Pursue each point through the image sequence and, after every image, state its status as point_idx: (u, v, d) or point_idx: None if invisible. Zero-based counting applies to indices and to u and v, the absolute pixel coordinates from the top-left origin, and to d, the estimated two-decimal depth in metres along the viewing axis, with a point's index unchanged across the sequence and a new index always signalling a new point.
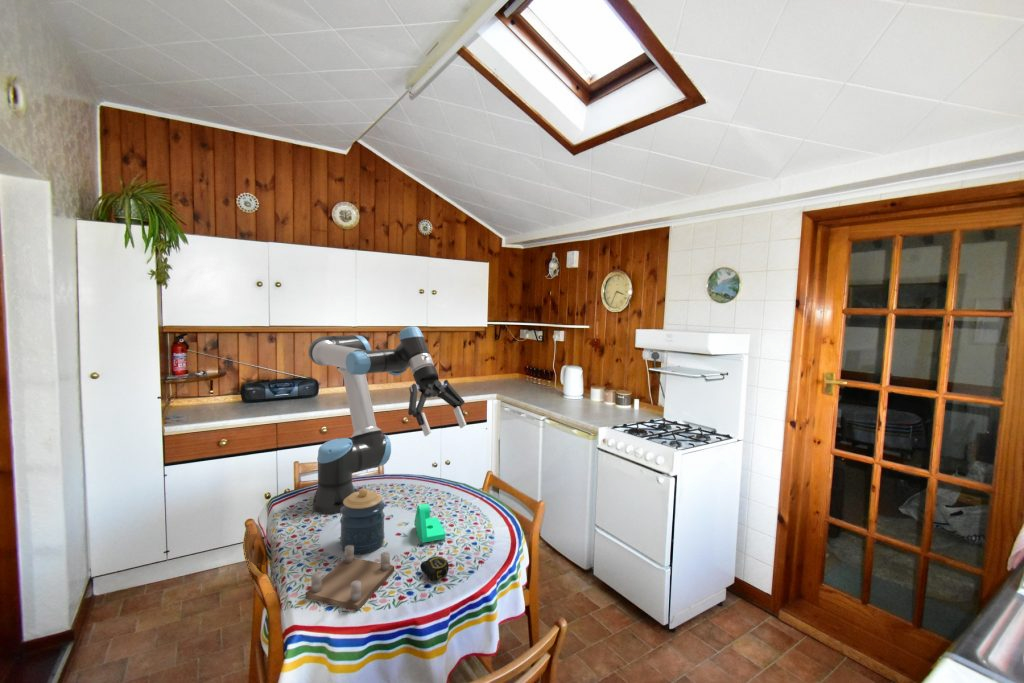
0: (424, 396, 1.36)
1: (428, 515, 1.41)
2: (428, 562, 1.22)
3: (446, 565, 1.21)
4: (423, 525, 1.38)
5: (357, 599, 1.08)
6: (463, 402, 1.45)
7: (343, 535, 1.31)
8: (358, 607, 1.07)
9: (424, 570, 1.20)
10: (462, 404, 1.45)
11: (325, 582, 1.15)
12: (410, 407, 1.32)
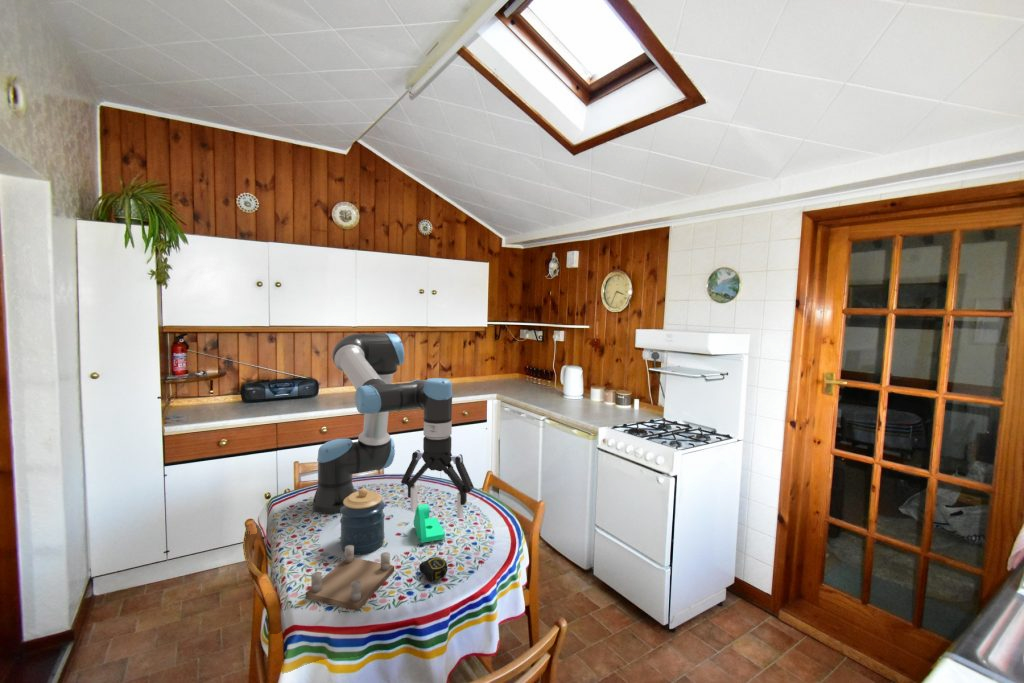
0: (421, 470, 1.20)
1: (427, 515, 1.40)
2: (427, 563, 1.21)
3: (445, 566, 1.20)
4: (422, 525, 1.38)
5: (357, 599, 1.08)
6: (468, 491, 1.17)
7: (343, 535, 1.31)
8: (358, 607, 1.07)
9: (423, 570, 1.20)
10: (468, 491, 1.17)
11: (325, 582, 1.15)
12: None
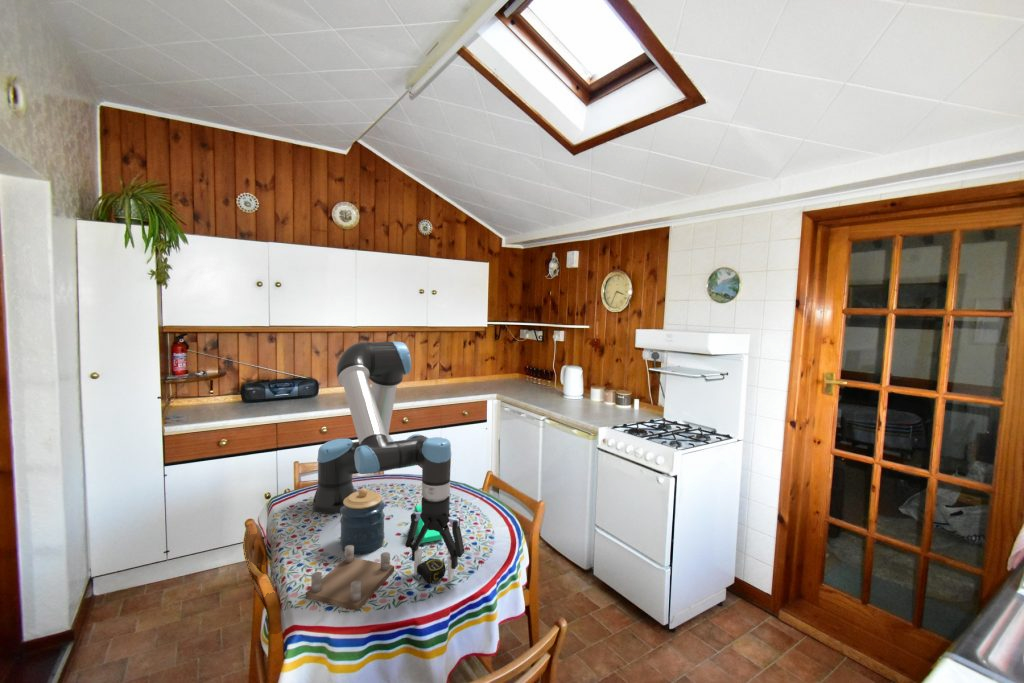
0: (421, 532, 1.20)
1: None
2: (425, 564, 1.20)
3: (443, 567, 1.20)
4: (421, 526, 1.38)
5: (357, 599, 1.08)
6: (458, 556, 1.18)
7: (343, 535, 1.31)
8: (358, 607, 1.07)
9: (421, 572, 1.19)
10: None
11: (325, 582, 1.15)
12: None
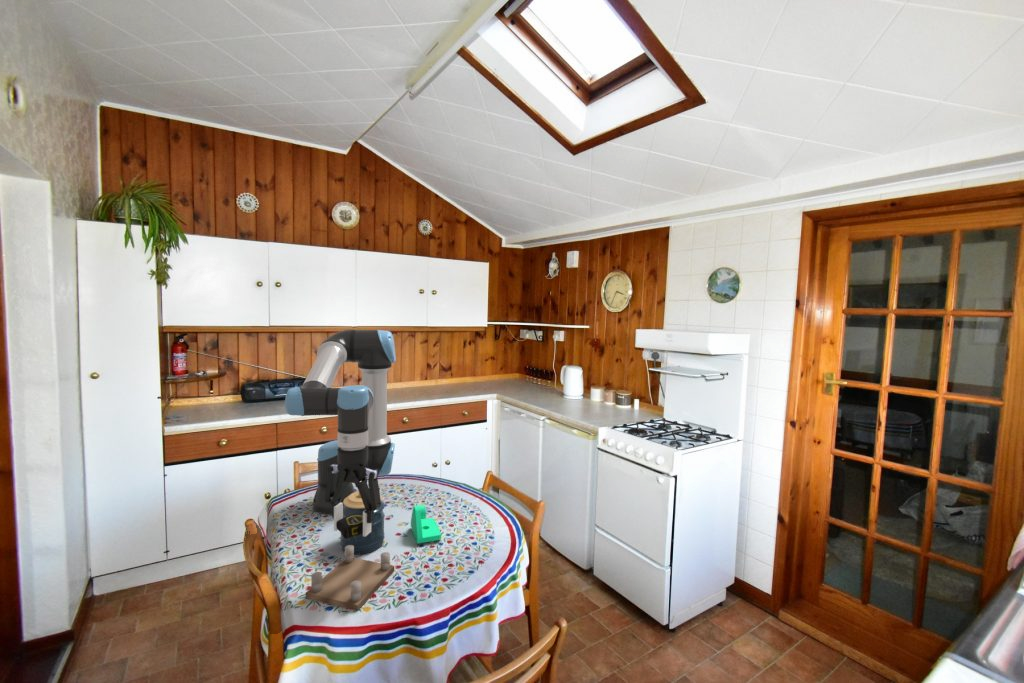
0: (339, 485, 1.14)
1: (424, 516, 1.40)
2: (344, 519, 1.15)
3: None
4: (419, 526, 1.38)
5: (357, 599, 1.08)
6: (373, 509, 1.12)
7: None
8: (358, 607, 1.07)
9: (339, 527, 1.13)
10: None
11: (325, 582, 1.15)
12: None
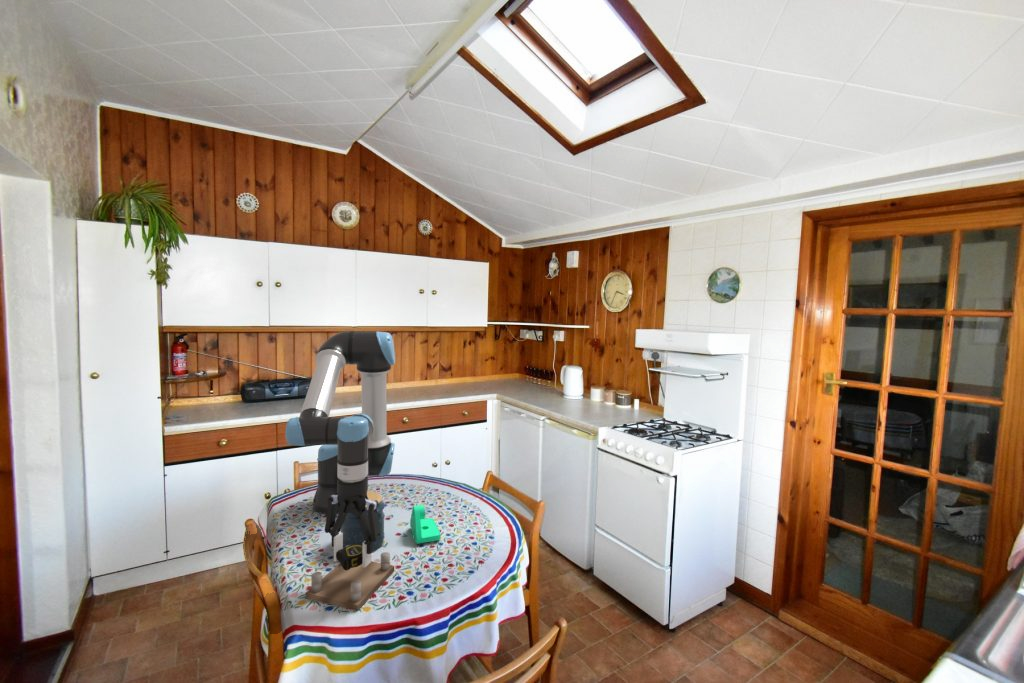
0: (339, 515, 1.15)
1: (423, 516, 1.40)
2: (344, 550, 1.15)
3: None
4: (418, 526, 1.37)
5: (357, 599, 1.08)
6: (373, 540, 1.13)
7: (343, 535, 1.31)
8: (358, 607, 1.07)
9: (339, 558, 1.14)
10: (373, 540, 1.13)
11: (325, 582, 1.15)
12: None
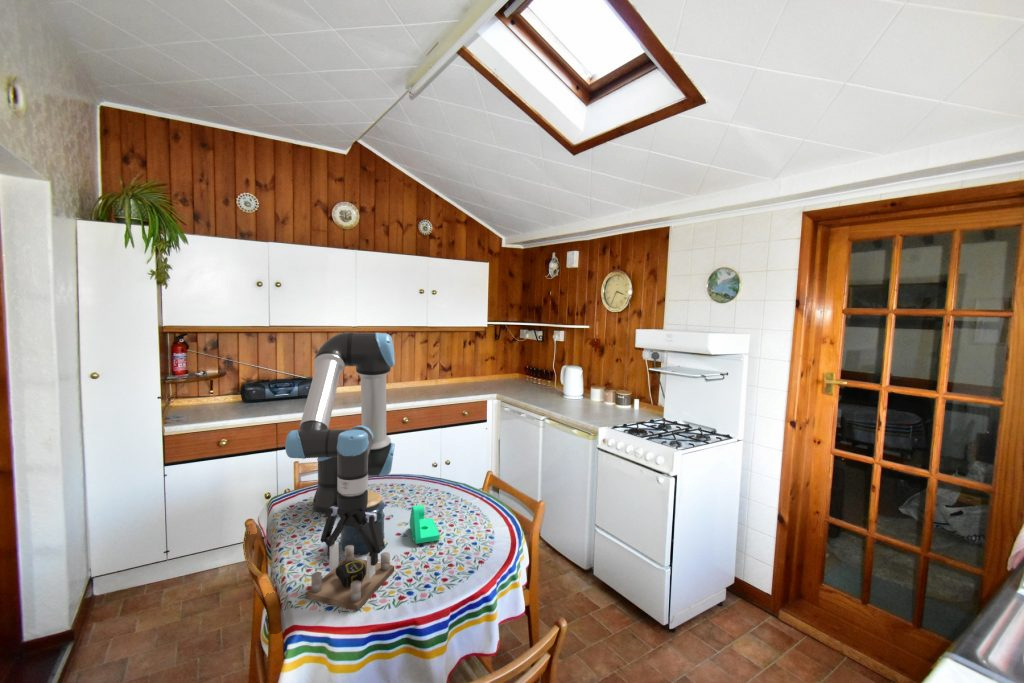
0: (337, 527, 1.15)
1: (422, 516, 1.40)
2: (343, 566, 1.16)
3: (362, 569, 1.15)
4: (417, 526, 1.37)
5: (357, 599, 1.08)
6: (377, 552, 1.13)
7: (343, 535, 1.31)
8: (358, 607, 1.07)
9: (339, 574, 1.14)
10: (377, 552, 1.13)
11: (325, 582, 1.15)
12: None
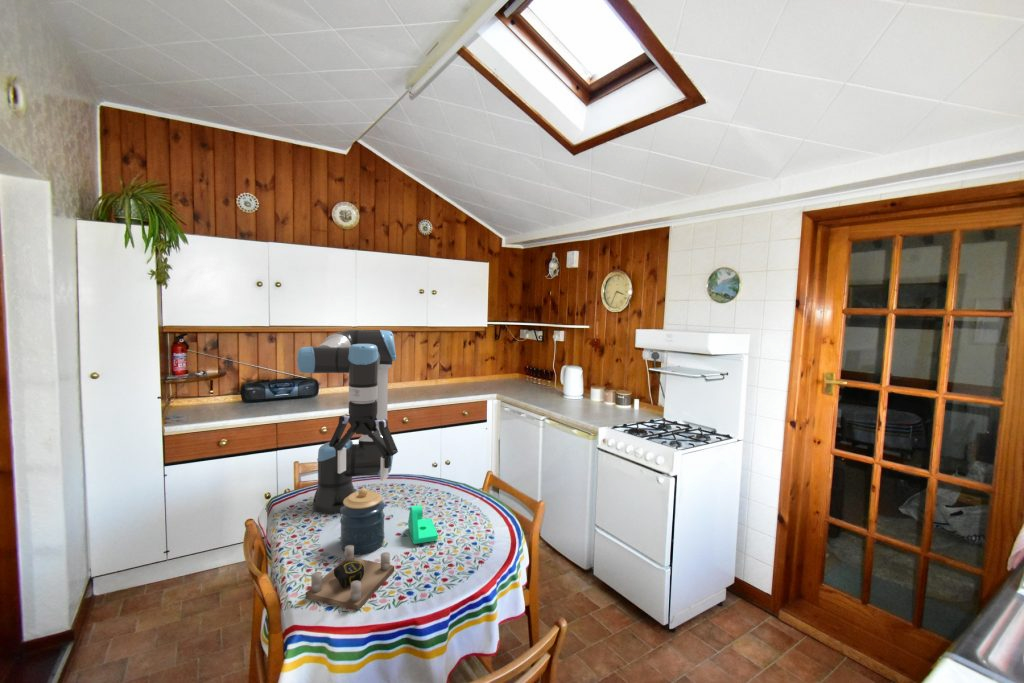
0: (347, 434, 1.22)
1: (420, 516, 1.40)
2: (342, 567, 1.15)
3: (360, 570, 1.15)
4: (415, 526, 1.37)
5: (357, 599, 1.08)
6: (391, 454, 1.18)
7: (343, 535, 1.31)
8: (358, 607, 1.07)
9: (337, 575, 1.14)
10: (391, 455, 1.19)
11: (325, 582, 1.15)
12: None
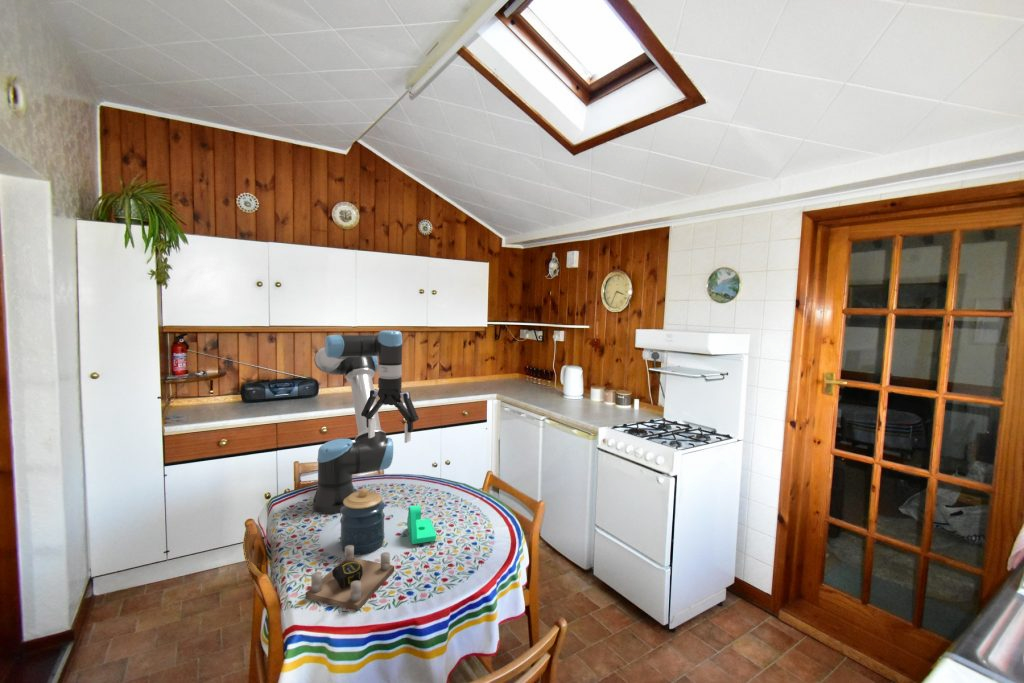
0: (376, 404, 1.48)
1: (419, 516, 1.40)
2: (340, 567, 1.15)
3: (359, 570, 1.15)
4: (413, 526, 1.37)
5: (357, 599, 1.08)
6: (413, 420, 1.44)
7: (343, 535, 1.31)
8: (358, 607, 1.07)
9: (336, 575, 1.14)
10: (413, 421, 1.45)
11: (325, 582, 1.15)
12: None
